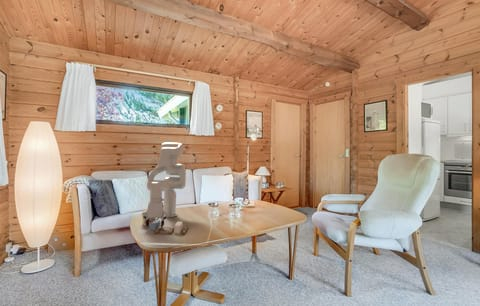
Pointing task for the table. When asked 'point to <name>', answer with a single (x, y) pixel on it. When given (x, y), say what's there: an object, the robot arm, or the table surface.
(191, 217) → the table surface
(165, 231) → the slot rack
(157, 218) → the teacup with lid
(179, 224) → the ivory stub
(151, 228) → the blue stub
